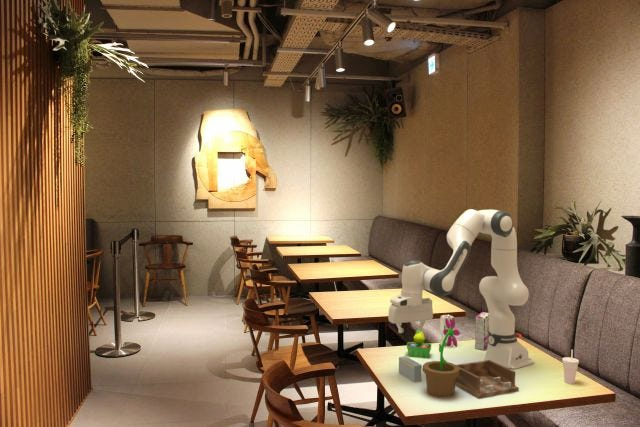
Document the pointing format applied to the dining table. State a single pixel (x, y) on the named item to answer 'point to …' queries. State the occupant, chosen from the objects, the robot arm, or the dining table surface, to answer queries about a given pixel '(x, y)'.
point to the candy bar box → (481, 331)
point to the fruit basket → (419, 346)
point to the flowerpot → (443, 367)
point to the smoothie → (570, 368)
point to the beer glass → (443, 326)
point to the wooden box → (486, 379)
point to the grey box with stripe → (410, 369)
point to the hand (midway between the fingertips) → (410, 331)
